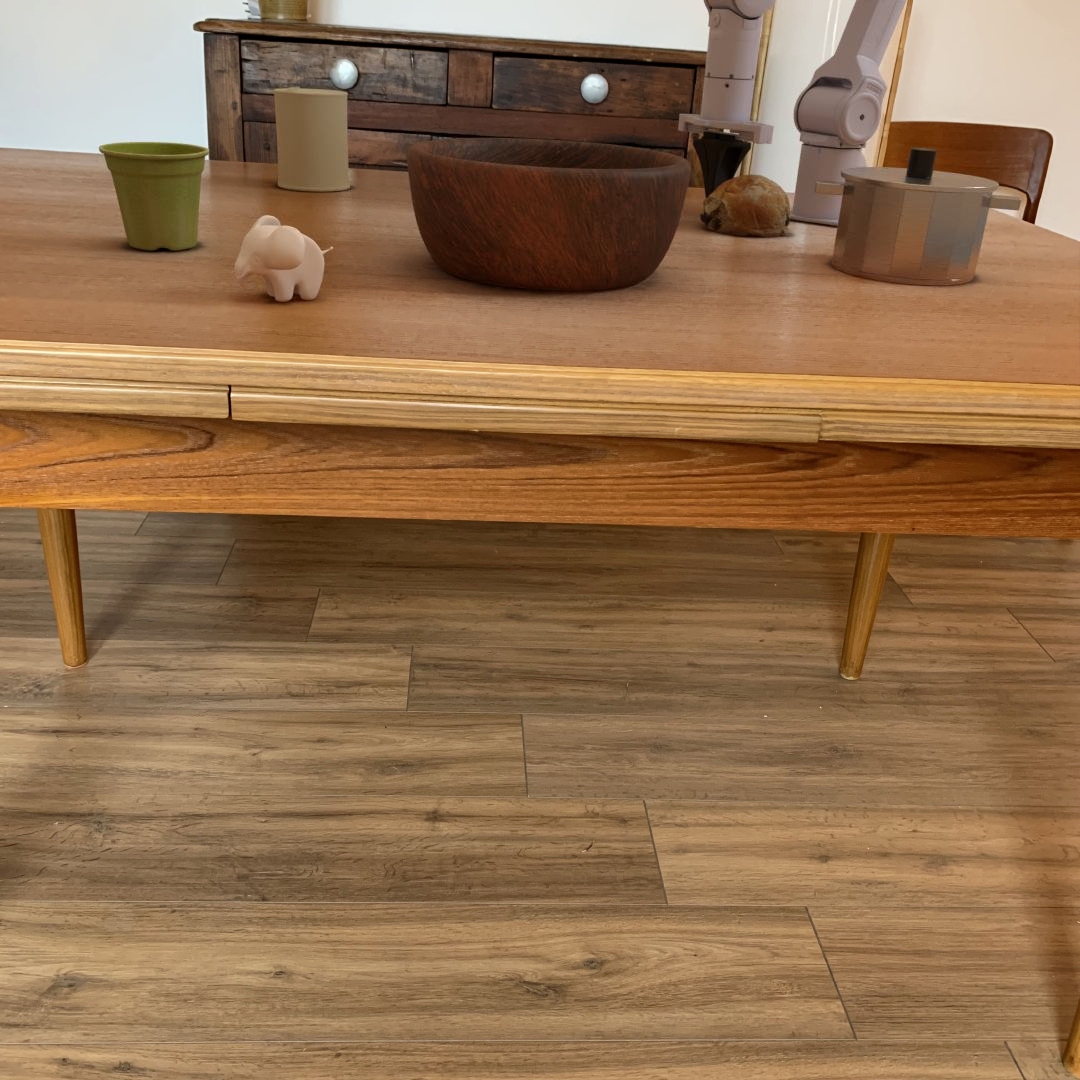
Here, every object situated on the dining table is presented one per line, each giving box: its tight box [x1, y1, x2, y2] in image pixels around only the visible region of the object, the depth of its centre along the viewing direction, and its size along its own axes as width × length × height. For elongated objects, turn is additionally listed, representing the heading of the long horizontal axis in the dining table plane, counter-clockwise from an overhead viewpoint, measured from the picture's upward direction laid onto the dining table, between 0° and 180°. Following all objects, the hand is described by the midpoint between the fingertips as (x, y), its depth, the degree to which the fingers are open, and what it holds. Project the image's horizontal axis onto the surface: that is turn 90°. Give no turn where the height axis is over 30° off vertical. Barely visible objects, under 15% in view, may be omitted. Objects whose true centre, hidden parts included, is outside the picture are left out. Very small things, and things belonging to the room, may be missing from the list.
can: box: [273, 86, 351, 193], centre depth 139 cm, size 9×9×12 cm
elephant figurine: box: [230, 214, 334, 303], centre depth 84 cm, size 7×8×6 cm
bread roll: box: [699, 173, 791, 238], centre depth 126 cm, size 10×10×8 cm
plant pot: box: [98, 141, 210, 252], centre depth 100 cm, size 9×9×9 cm
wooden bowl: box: [406, 137, 692, 291], centre depth 98 cm, size 25×25×10 cm
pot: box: [815, 179, 1022, 286], centre depth 107 cm, size 14×19×8 cm
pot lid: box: [841, 147, 1000, 193], centre depth 105 cm, size 15×15×4 cm
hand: (715, 201), depth 130 cm, fingers closed
